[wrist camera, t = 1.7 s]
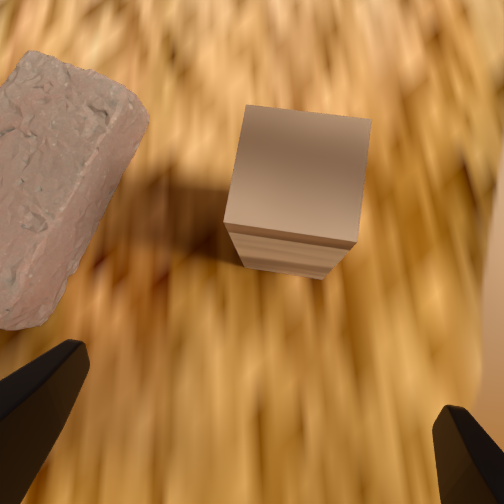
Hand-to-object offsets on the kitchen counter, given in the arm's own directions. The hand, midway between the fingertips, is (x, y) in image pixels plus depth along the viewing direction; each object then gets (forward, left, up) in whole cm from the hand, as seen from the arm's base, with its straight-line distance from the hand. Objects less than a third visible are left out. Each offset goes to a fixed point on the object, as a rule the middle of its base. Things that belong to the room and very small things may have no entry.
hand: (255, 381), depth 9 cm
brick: (+17, +6, -14) cm, 23 cm away
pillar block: (+5, -6, -14) cm, 16 cm away
